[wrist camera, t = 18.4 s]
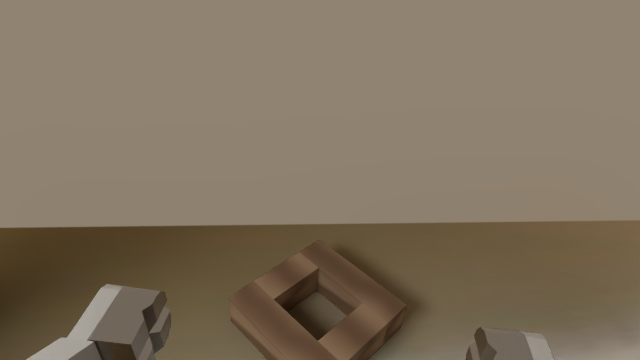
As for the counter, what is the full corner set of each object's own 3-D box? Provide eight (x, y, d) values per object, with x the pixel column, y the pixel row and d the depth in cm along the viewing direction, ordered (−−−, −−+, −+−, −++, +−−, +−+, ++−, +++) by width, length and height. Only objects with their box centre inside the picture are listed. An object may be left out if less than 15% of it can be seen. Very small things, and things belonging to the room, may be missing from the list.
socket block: (315, 411, 40) (317, 389, 38) (230, 320, 48) (228, 297, 46) (400, 327, 48) (407, 304, 46) (317, 261, 56) (319, 239, 54)
